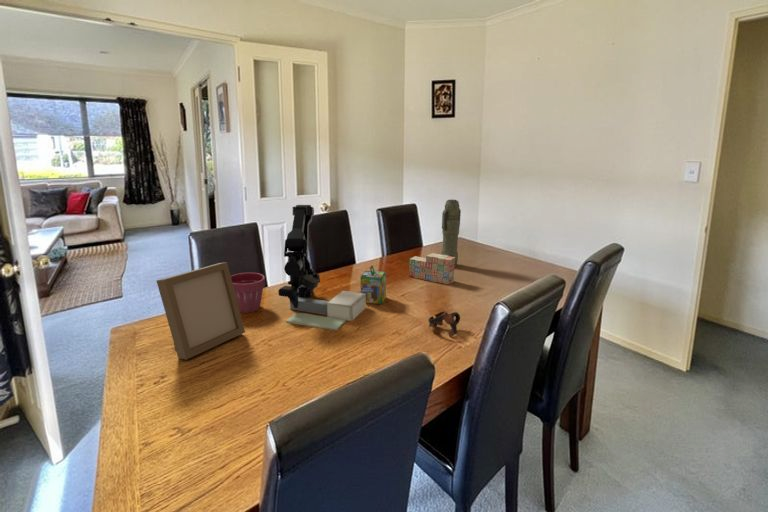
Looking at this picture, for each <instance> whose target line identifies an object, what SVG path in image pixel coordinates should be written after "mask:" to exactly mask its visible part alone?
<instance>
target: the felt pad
mask: <svg viewBox="0 0 768 512" xmlns="http://www.w3.org/2000/svg"><path fill="white" fill-rule="evenodd" d="M346 321H347V320H342V319H336V318H329V317H328V316H324V315H323V316H321V315H315V314H309V313H304V312H303V313H302V312H296V313H295V314H294V315H292V316H291V317H290V318H288V319H287V320H286V323H289V324H295V325H302V326H307V327H314V328H319V329H325V330H330V331H337V330H339V329H340V328H341V325H342V324H343V325H344V324H345V323H346ZM343 325H342V326H343Z"/></svg>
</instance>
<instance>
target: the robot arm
mask: <svg viewBox="0 0 768 512" xmlns="http://www.w3.org/2000/svg"><path fill="white" fill-rule="evenodd" d="M292 216H293V222H292V226H291V227H292V228H291V230H290V232H288V233H287V236H286V239H284V252H283V256H284V257H288V259H287V261H286V263H285V265H284V267H283V269H284V272H285V274H286V276H287V275H288V276H289V281H287V285H284V286H282V287H280V288H279V289H278V290H277V291H278V296H279V297H284V298H285V297H286V298H288V300H289V302H290V301H291V303H292V304H293V306H294V308H297V307H298V297H304V298H310V296H312V295H314V294H315V292H314V290H315V289H317V288H318V285H319V283H321V278H320V274H319V273H317V272H315V271H314V269H313V268H312V263H310V261H309V226H310V224H311V223H312V221H313V217H314V216H315V209H314V207H313V206H312V205H311V204H296V205H295V206H292Z"/></svg>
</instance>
